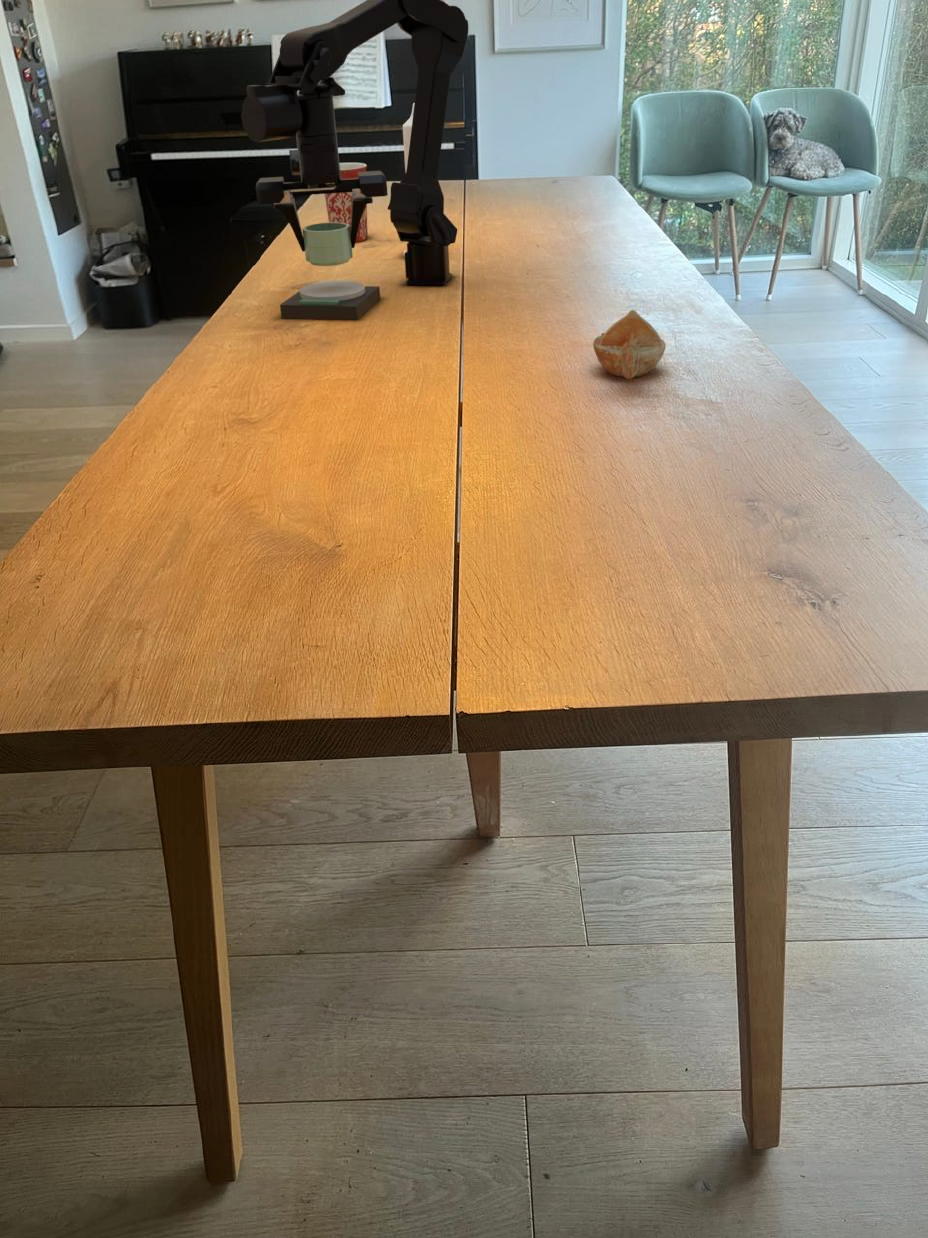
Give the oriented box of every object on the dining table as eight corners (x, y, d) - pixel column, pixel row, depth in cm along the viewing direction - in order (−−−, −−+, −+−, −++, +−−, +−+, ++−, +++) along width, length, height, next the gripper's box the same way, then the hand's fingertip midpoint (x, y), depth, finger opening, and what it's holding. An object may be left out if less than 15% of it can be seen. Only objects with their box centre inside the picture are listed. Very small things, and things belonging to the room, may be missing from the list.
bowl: (358, 256, 151) (355, 222, 149) (344, 267, 145) (340, 231, 143) (315, 256, 153) (311, 222, 150) (299, 266, 147) (295, 231, 144)
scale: (380, 299, 155) (379, 280, 154) (357, 319, 146) (355, 300, 144) (308, 297, 158) (306, 279, 156) (281, 318, 148) (278, 299, 147)
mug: (369, 243, 193) (363, 167, 186) (323, 244, 193) (315, 169, 186) (377, 230, 203) (371, 158, 196) (333, 231, 204) (326, 160, 197)
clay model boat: (590, 398, 113) (593, 310, 108) (594, 343, 131) (596, 265, 126) (667, 399, 112) (673, 310, 107) (660, 343, 130) (665, 265, 125)
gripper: (378, 124, 147) (386, 234, 156) (252, 131, 146) (267, 242, 154) (383, 132, 138) (391, 248, 146) (248, 140, 136) (265, 257, 145)
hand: (328, 249), depth 148 cm, fingers closed on bowl, 7 cm apart
